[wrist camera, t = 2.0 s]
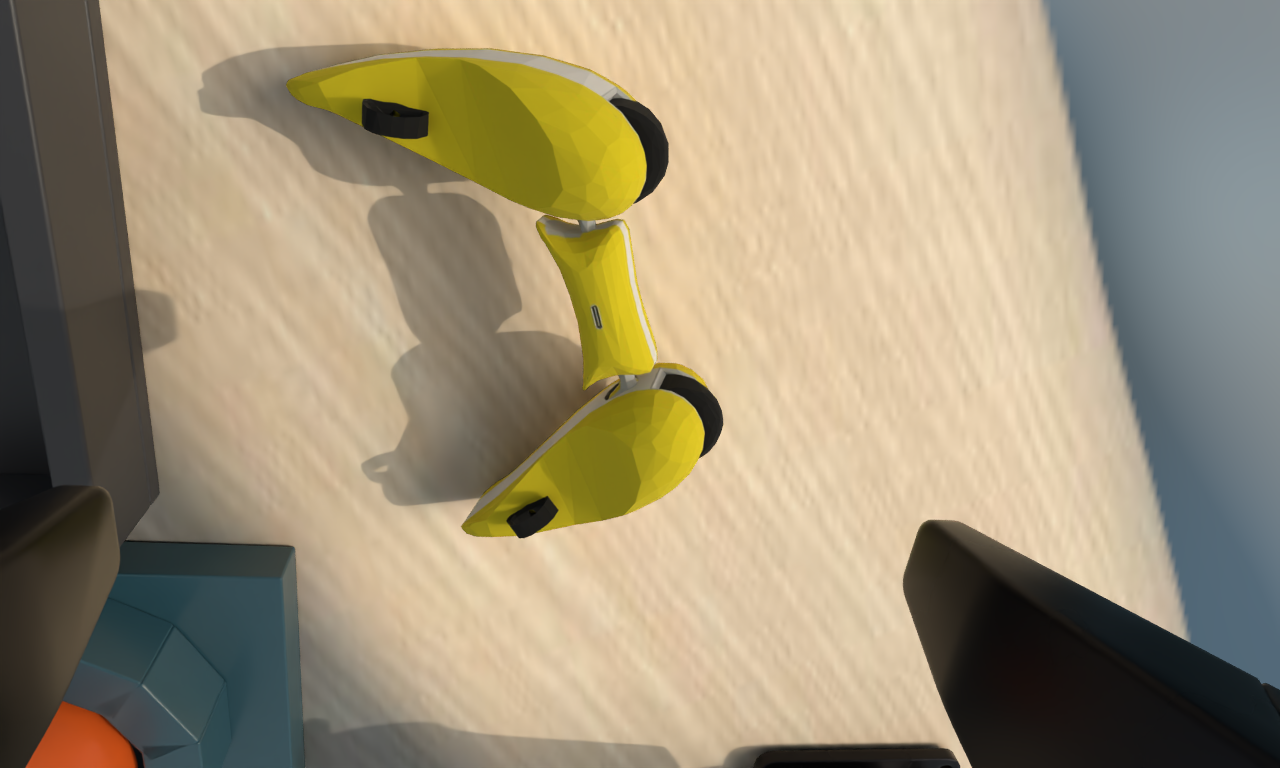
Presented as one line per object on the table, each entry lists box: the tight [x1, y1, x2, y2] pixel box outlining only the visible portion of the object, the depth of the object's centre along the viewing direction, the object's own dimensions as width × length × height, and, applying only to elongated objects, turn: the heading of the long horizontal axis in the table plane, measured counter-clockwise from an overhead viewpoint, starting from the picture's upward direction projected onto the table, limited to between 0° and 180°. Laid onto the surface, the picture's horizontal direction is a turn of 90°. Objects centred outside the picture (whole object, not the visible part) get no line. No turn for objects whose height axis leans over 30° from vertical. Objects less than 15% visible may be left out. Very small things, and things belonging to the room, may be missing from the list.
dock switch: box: [63, 542, 305, 768], centre depth 18 cm, size 10×8×3 cm
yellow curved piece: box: [286, 49, 723, 538], centre depth 16 cm, size 10×6×4 cm, turn 13°
